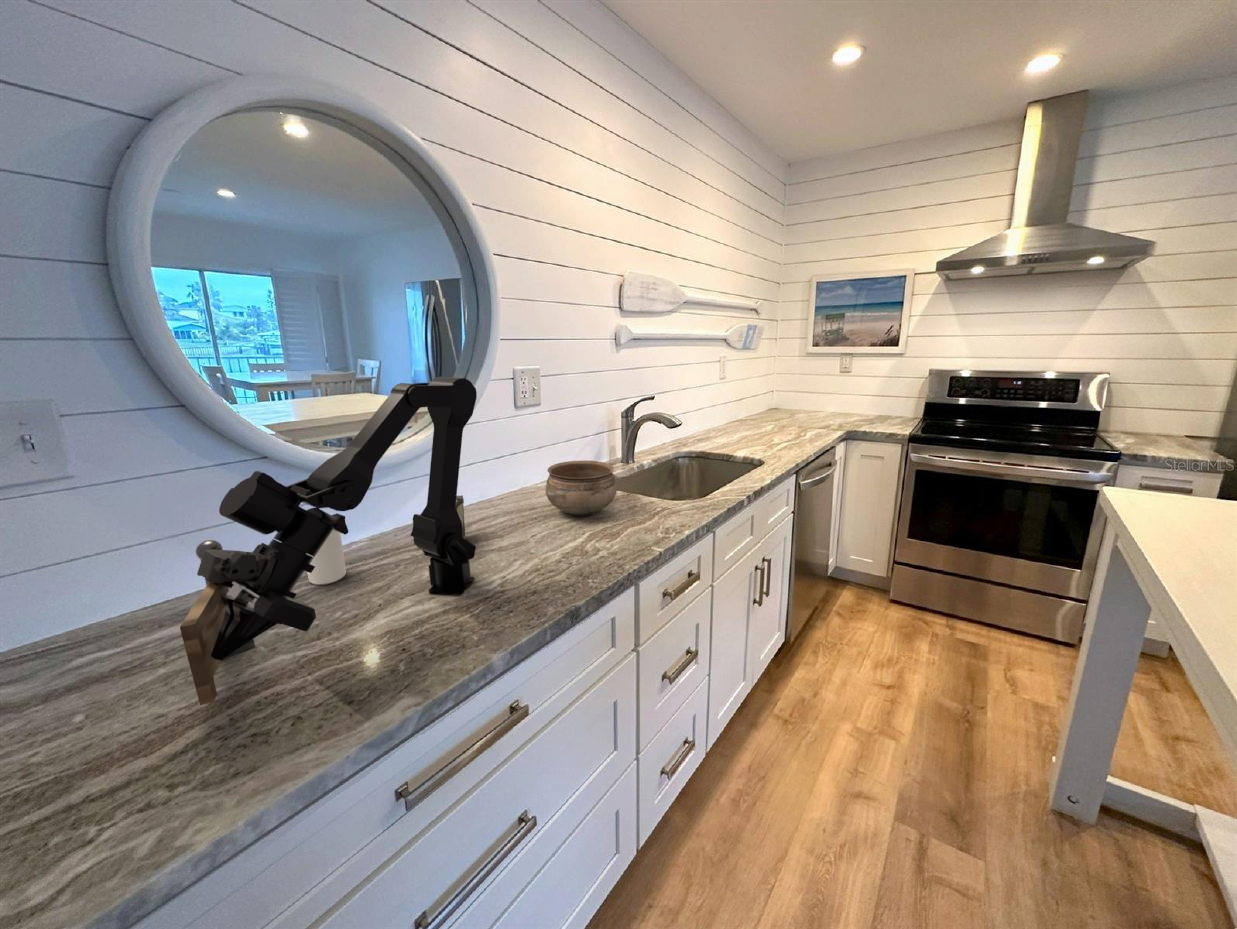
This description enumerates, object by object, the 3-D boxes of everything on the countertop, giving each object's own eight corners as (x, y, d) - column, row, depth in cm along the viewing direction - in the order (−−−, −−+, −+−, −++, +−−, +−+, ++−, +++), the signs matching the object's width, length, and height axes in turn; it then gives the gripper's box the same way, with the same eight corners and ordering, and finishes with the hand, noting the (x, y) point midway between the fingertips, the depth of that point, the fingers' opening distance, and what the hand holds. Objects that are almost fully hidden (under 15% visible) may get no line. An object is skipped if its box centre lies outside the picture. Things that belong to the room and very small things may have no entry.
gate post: (208, 651, 75) (182, 542, 71) (242, 636, 79) (219, 532, 74) (221, 661, 73) (194, 549, 68) (254, 645, 76) (231, 539, 72)
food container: (440, 534, 118) (436, 495, 116) (466, 534, 119) (463, 494, 116) (425, 557, 107) (420, 513, 104) (454, 556, 107) (450, 512, 104)
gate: (228, 643, 74) (212, 576, 71) (239, 641, 74) (224, 574, 71) (200, 705, 61) (179, 627, 59) (214, 701, 62) (194, 624, 59)
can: (330, 587, 94) (320, 528, 91) (300, 584, 95) (290, 526, 92) (354, 571, 100) (345, 516, 97) (326, 569, 101) (317, 514, 98)
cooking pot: (583, 494, 148) (582, 454, 145) (636, 506, 138) (636, 463, 135) (523, 519, 128) (520, 473, 125) (580, 535, 118) (579, 486, 115)
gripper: (208, 509, 68) (121, 618, 62) (271, 539, 58) (174, 671, 52) (281, 542, 76) (211, 640, 70) (347, 573, 67) (271, 690, 61)
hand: (215, 658), depth 63 cm, fingers closed
